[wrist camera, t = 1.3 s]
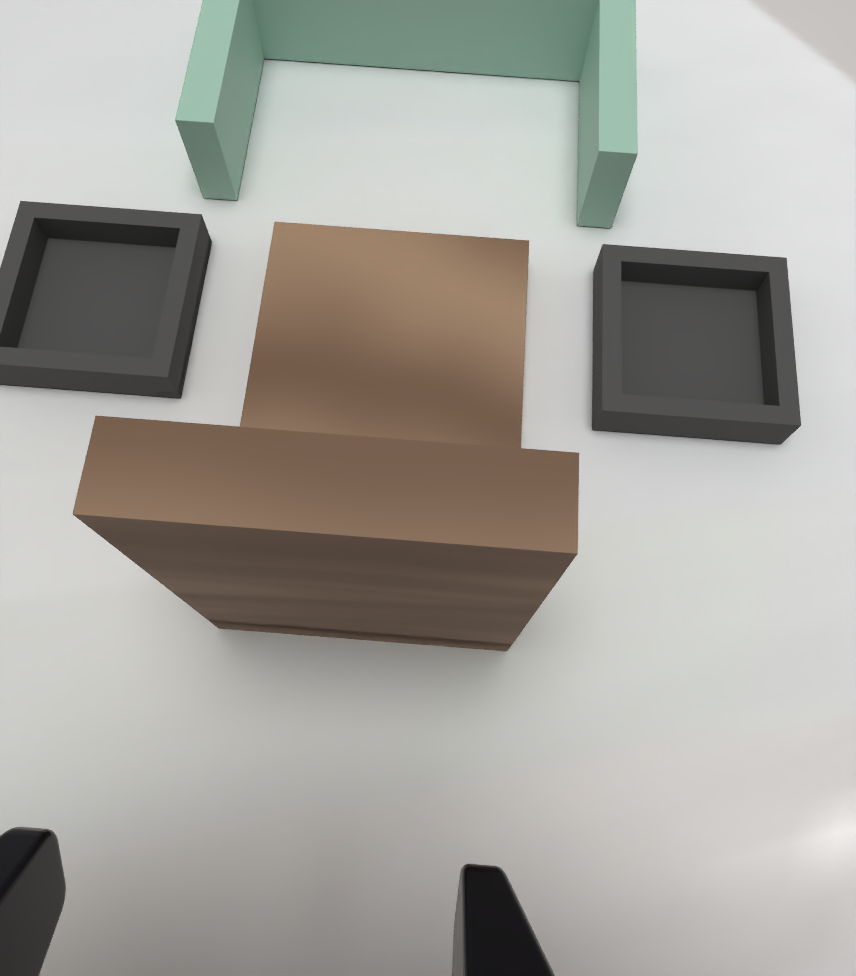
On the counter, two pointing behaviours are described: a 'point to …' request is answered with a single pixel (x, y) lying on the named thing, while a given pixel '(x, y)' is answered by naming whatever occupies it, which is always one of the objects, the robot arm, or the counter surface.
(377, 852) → the counter surface
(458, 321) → the bookend
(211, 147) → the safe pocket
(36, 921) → the robot arm
